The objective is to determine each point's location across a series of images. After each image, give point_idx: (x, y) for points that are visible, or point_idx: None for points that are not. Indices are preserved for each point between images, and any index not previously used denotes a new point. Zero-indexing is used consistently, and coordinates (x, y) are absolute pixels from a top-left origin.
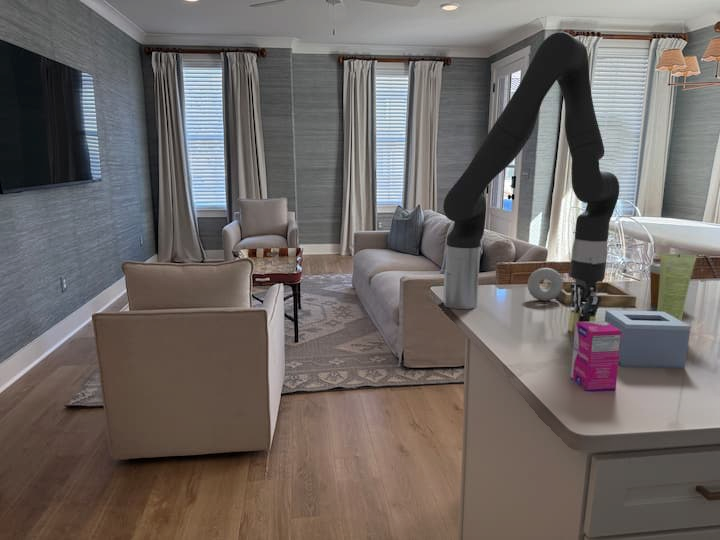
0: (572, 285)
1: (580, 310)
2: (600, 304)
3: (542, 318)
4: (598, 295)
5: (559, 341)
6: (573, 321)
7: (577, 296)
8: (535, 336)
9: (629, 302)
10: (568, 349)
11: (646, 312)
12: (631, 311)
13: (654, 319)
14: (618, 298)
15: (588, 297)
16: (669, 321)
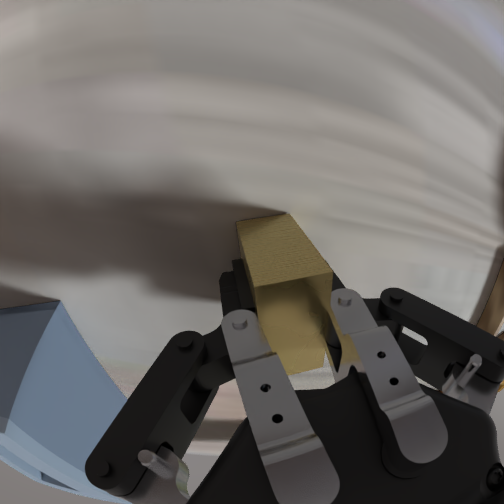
0: (501, 368)
1: (249, 338)
2: (479, 326)
3: (437, 137)
4: (494, 334)
5: (88, 149)
6: (246, 255)
7: (365, 386)
8: (140, 34)
9: None
10: (13, 187)
11: (86, 489)
12: (65, 476)
13: None
14: None
15: (116, 476)
16: (37, 478)
